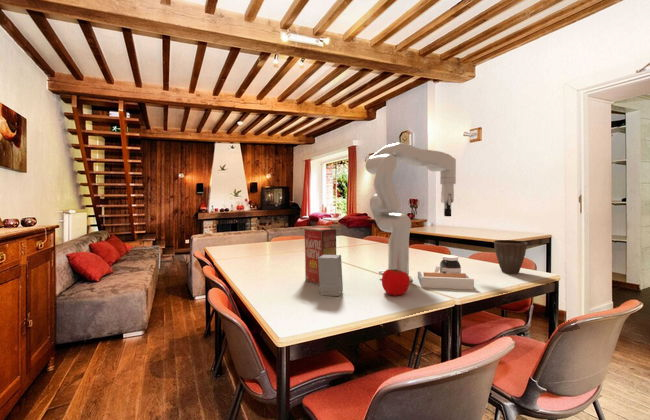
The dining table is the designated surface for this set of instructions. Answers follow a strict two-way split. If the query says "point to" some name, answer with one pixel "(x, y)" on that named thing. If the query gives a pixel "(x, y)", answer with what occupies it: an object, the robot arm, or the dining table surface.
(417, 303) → the dining table surface
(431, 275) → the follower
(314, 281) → the food packaging
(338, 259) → the skincare box
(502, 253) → the plant pot
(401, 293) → the tomato
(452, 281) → the white rectangular tray
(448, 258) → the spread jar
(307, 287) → the dining table surface
